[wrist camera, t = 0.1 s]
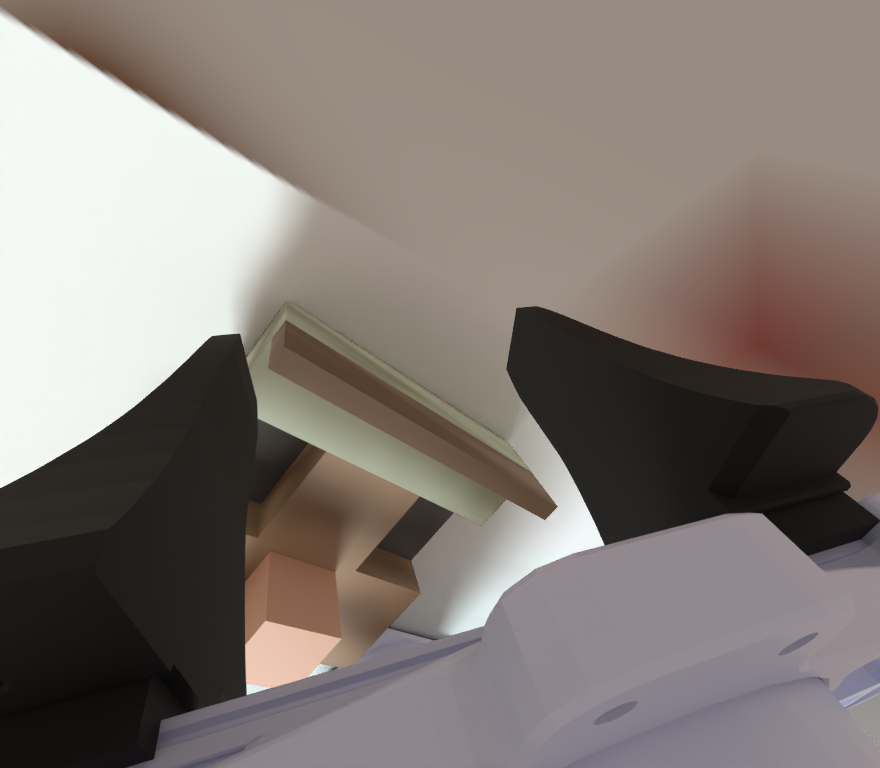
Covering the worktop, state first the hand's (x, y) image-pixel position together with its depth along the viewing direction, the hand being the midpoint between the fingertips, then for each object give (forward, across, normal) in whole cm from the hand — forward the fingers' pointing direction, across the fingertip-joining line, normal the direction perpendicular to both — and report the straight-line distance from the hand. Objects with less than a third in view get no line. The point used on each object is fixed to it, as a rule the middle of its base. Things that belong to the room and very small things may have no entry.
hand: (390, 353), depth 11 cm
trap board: (+8, +3, +15) cm, 17 cm away
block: (+5, +5, +17) cm, 19 cm away
